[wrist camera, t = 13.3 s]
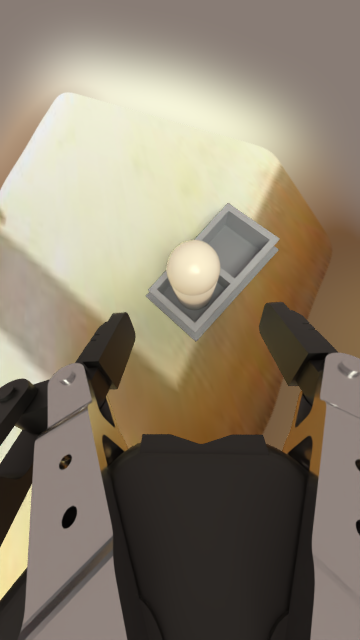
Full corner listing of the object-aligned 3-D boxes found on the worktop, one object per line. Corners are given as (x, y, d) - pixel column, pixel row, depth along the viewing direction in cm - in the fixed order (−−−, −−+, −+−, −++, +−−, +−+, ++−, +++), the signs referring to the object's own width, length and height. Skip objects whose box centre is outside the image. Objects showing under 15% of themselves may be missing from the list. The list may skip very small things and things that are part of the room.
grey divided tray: (147, 297, 23) (139, 290, 20) (222, 215, 24) (227, 194, 20) (195, 341, 22) (195, 342, 18) (275, 253, 22) (289, 237, 19)
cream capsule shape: (170, 294, 22) (148, 259, 12) (193, 269, 22) (190, 214, 12) (195, 317, 21) (194, 300, 11) (219, 291, 21) (238, 251, 11)
